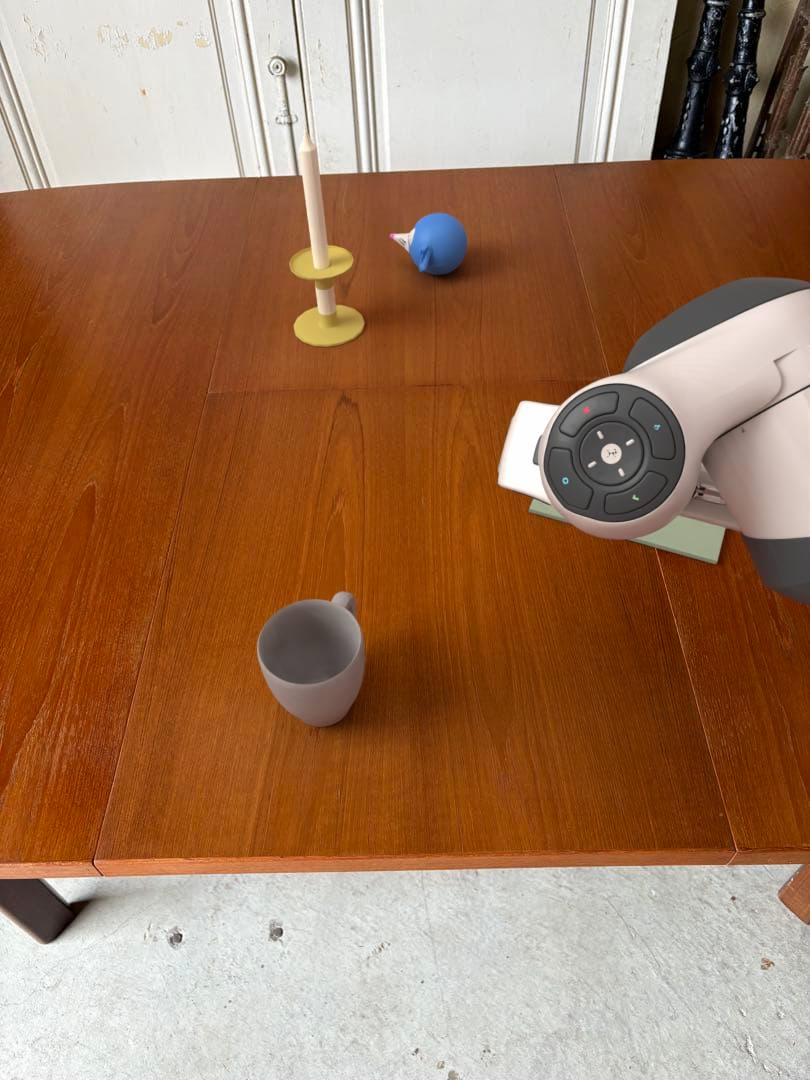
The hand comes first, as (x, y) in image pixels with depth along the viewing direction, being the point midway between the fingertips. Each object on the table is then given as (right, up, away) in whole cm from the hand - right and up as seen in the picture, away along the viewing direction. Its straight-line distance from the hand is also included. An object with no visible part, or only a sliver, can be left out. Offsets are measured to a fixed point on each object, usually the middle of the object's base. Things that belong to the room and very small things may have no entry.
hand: (635, 482), depth 68 cm
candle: (-30, +25, +46) cm, 60 cm away
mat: (+6, +1, +22) cm, 23 cm away
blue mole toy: (-16, +36, +55) cm, 68 cm away
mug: (-26, -19, +7) cm, 33 cm away
